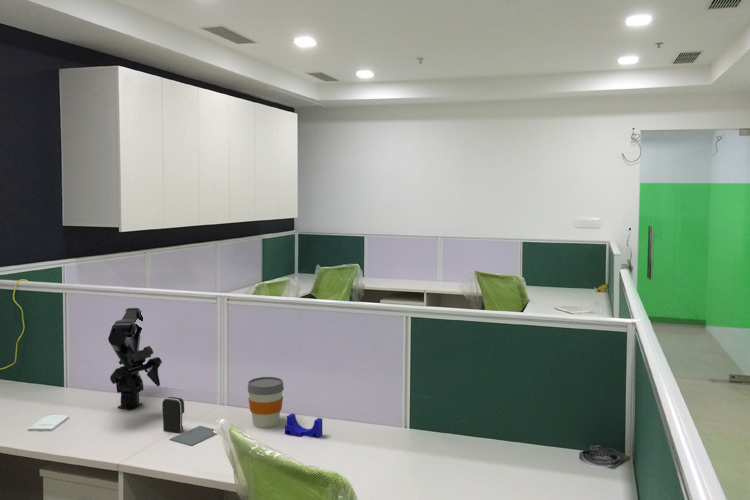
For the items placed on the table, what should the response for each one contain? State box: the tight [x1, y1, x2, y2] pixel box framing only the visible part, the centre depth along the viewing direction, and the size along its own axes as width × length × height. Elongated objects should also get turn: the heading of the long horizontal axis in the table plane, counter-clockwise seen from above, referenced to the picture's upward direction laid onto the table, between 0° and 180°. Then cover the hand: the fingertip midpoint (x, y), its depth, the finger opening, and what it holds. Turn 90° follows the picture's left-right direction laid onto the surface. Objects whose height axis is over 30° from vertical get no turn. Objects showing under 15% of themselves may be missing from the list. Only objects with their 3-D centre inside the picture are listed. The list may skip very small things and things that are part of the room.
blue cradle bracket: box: [284, 413, 323, 439], centre depth 223 cm, size 12×4×6 cm, turn 67°
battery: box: [161, 396, 185, 433], centre depth 225 cm, size 7×4×11 cm, turn 72°
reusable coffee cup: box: [247, 376, 284, 429], centre depth 233 cm, size 13×13×15 cm
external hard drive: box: [27, 414, 70, 432], centre depth 230 cm, size 2×8×12 cm
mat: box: [168, 425, 217, 447], centre depth 221 cm, size 10×14×1 cm
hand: (148, 389), depth 230 cm, fingers open, 9 cm apart
